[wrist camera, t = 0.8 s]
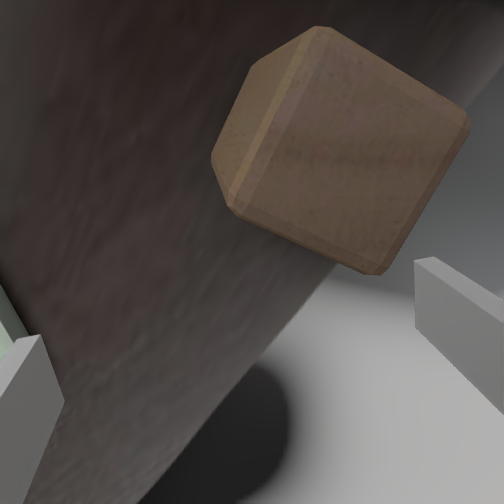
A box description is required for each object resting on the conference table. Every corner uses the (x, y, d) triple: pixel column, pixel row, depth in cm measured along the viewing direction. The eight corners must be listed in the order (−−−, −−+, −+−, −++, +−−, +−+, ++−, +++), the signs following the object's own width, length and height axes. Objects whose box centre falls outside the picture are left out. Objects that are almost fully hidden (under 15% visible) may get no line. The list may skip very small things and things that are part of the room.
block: (299, 207, 43) (385, 287, 24) (206, 162, 41) (221, 213, 22) (350, 110, 41) (488, 117, 22) (254, 56, 38) (318, 12, 20)
